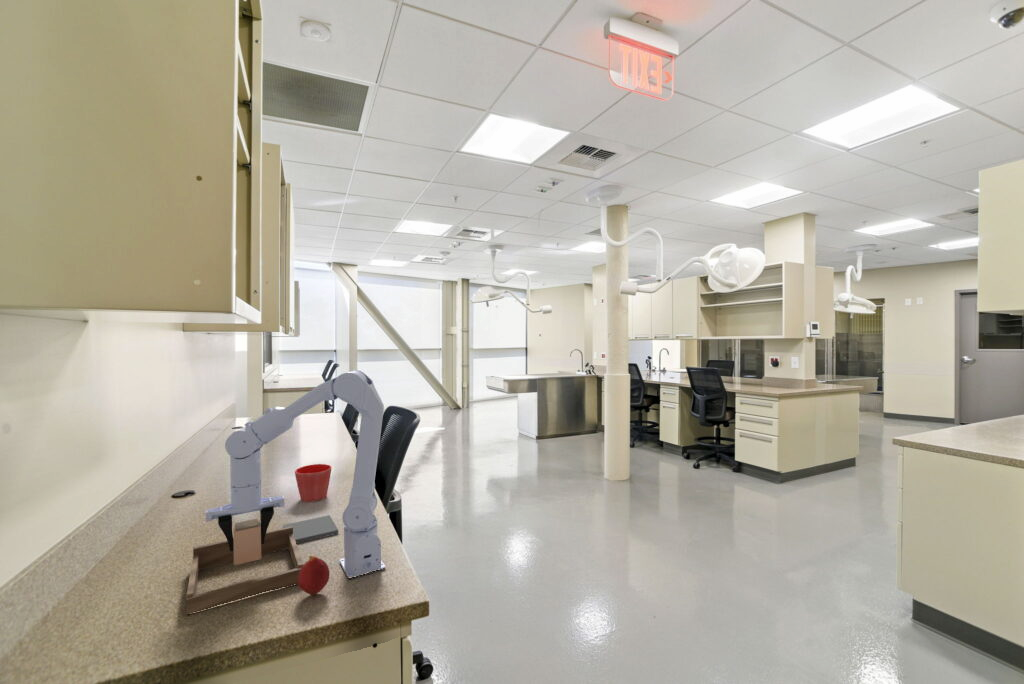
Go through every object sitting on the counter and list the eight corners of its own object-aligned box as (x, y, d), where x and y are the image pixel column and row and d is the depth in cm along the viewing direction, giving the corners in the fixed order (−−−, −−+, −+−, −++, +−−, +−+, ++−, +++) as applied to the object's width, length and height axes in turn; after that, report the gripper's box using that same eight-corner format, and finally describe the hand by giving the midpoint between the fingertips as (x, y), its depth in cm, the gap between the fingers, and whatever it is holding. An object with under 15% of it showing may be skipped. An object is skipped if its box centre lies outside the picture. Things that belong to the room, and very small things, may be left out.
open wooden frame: (304, 582, 92) (304, 558, 92) (186, 615, 81) (186, 589, 81) (292, 546, 109) (292, 526, 109) (193, 569, 98) (193, 547, 98)
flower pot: (323, 504, 137) (322, 473, 137) (288, 504, 138) (288, 473, 138) (337, 492, 148) (336, 463, 148) (305, 492, 148) (305, 464, 148)
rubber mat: (338, 533, 116) (338, 529, 116) (287, 545, 109) (287, 541, 109) (329, 518, 126) (329, 515, 126) (282, 528, 119) (282, 525, 119)
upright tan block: (261, 558, 94) (260, 525, 94) (233, 565, 92) (233, 530, 92) (259, 549, 99) (259, 517, 99) (233, 556, 96) (233, 522, 96)
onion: (321, 583, 92) (320, 545, 92) (335, 593, 88) (334, 553, 88) (292, 596, 87) (292, 556, 87) (306, 607, 84) (305, 565, 84)
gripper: (281, 473, 102) (282, 531, 102) (206, 485, 94) (207, 547, 94) (284, 480, 96) (286, 542, 96) (204, 494, 89) (205, 561, 89)
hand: (247, 545), depth 95 cm, fingers closed on upright tan block, 5 cm apart
